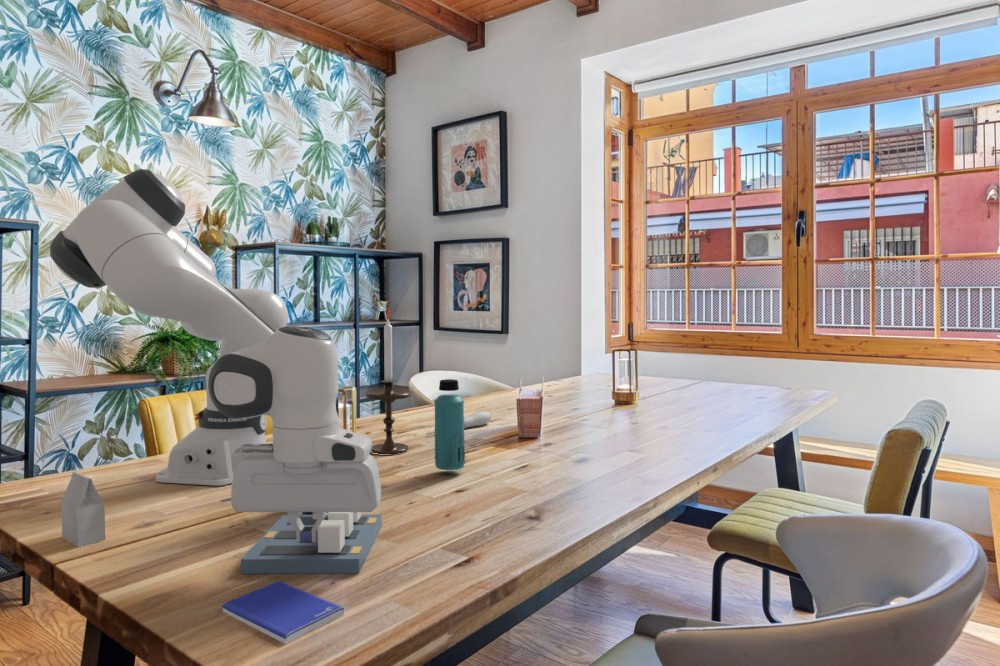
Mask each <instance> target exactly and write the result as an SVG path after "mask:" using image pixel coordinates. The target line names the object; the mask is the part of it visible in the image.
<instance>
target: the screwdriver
mask: <svg viewBox="0 0 1000 666" xmlns="http://www.w3.org/2000/svg"><path fill="white" fill-rule="evenodd" d="M491 418H492V415H491V413H490V412H488V411H485V410H484V411H481V410H479V411H475V412H474V413H472V414H470V415H468V416H466V417H465V416H464V424H465V426H464V430H465V429H467V428H474V427H475V426H477V427H483V426H485V425H486V424H488V423H489V422H490V421H491V420H492V419H491ZM475 428H476V427H475ZM432 434H435V430H431V431H429V432H427V433H426V434H425V435H427V436H428V435H432Z"/></svg>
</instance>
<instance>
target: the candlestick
mask: <svg viewBox="0 0 1000 666" xmlns="http://www.w3.org/2000/svg"><path fill="white" fill-rule="evenodd" d="M390 309H391V307H390V306H388V309H386V311H387V313H386V323H385V325H383V338H384V339H383V341H384V343H383V347H384V348H383V349H384V350H383V352H384V353H383V354H384V358H383V359H384V364H383V365H384V369H383V370H384V380H380V383H384V384H383V387H384V388H376V389H371V390H367V391H365V398H366V399H370V400H380V401H382V402H383V403H385V417H384V418H383V420H382V422H383V424H385V428H384V429H383V432H385V436H386V437H385V440H384V442H383V443H378V444H374V445H372V449H371V451H372V452H373V453H378V454H398V453H403V452H405V453H407V452H408V451H409V446H408V445H407V444H406V443H405V444H404V443H400V442H398V443H397V442H394V440H393V432H395V429H394V428H393V425H394V423H395V421H396V420H395V417H392V414H393V413H392V410H393V409H392V408H393V407H392V405H393V404H392V403H394V402H395V401H397V400H400V399H401V400H402V399H407V398H411V397H412V390H410V389H406V388H394V383H395V382H397V379H396V380H394V379H393V325H391V323H390V316H391V310H390ZM407 450H408V451H407ZM406 451H407V452H406ZM403 454H404V453H403ZM398 455H399V454H398Z"/></svg>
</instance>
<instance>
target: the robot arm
mask: <svg viewBox="0 0 1000 666" xmlns="http://www.w3.org/2000/svg"><path fill="white" fill-rule="evenodd" d="M185 214H186V204H185V202H184V201H183V198H182V195H181V193H180V191H179V189H177V187H176V186H175V185H174V184H173V183H172V182H171V181H170V180H169V179H168V178H166V177H164V176H162V175H160V174H158V173H156V172H153V171H152V170H150V169H145V168H139V169H135V170H134V171H131V172H130V173H128V174H127V175H124V176H123V180H121V181H119V182H118V183H116V184H114V185H112V186H111V187H110V188H108V189H107V190H105V191H104V192H103V193H101V194H99V195H98V196H97V197H95V199H93V200H92V201H91V202H90V204H89V205H87V206H86V207H84V208H82V210H81V211H80V212H79V213H78V215H77V216H76V217H75V218H74V219H73V220H72V221H71V222H70V223H69V224H68V225H67V227H66V228H65V229H64V230H59V232H58V233H57V234H56V236H55V237H54V238H53V239H52V241H51V243H50V244H49V256H50V258H51V260H53V263H55V265H56V267H57V269H58V270H59V271H60V272H61V273H62V274H63V275H64V276H65V277H66V278H68V279H70V280H71V281H73V282H74V283H77V284H80V285H82V286H83V287H86V288H90V289H92V288H94V289H95V288H96V289H97V288H102V287H105V286H106V287H108V289H110V291H111V292H112V293H113V294H114V295H115V296H116V297H117V298H118V299H119V300H120V301H121V302H123V303H125V305H127V306H128V307H130V308H131V309H133V310H135V311H136V312H138V313H140V314H142V315H144V316H148V317H153V318H158V319H159V318H160V319H165V320H174V321H178V322H179V323H180V324H181V325H180V326H182V328H183V329H184V330H185V332H186V333H188V334H190V335H192V336H194V337H197V338H200V339H203V340H206V341H215V342H217V341H218V342H222V343H221V348H220V352H219V355H218V356H217V359H216V361H215V362H214V363H213V364H211V365H210V366H209V367H208V369H207V370H206V373H205V383H206V384H205V385H206V386H205V387H206V390H205V391H206V407H205V408H204V409H202V410H200V411H199V412H197V413H195V414H194V417H195V418H194V420H195V421H198V426H197V427H196V428H195V429H193V430H192V431H191V432H189V433H188V434H187V435H185V436H184V437H183V438H182V439H181V440H179V441H178V442H176V443H175V445H173V447H172V448H171V450H170V451H169V455H168V460H167V461H168V462H167V467H165V468H163V469H161V470H160V471H159V472H157V473H156V475H155V482H157V483H166V484H167V483H168V484H184V485H202V486H214V487H215V486H217V487H218V486H219V487H221V486H226V485H229V484H231V492H230V505H231V507H232V508H233V509H234V511H235V512H237V513H287V515H288V521H289V522H290V524H291V525H292V527H293V528H294V530H295V531H296V542H297V543H316V542H317V541H318V527H319V526H320V524H321V523H322V522H323V520H324V518H325V517H326V515H328V513H329V512H361V513H372V512H374V511H375V510H376V509H377V508H378V506H379V505H380V503H381V501H382V487H381V485H382V484H381V475H380V471H379V465H378V463H377V460H376V459H375V458H374V456H372V455H371V449H372V446H373V440H372V439H371V437H370V436H366V435H363V434H360V433H356V432H354V431H350V430H349V429H346V428H342V427H340V419H339V417H338V414H337V411H336V399H337V397H338V395H339V367H338V366H339V365H338V364H339V363H338V357H337V350H336V346H335V343H334V340H333V339H332V337H331V336H330V334H328V333H326V332H325V331H324V330H321V329H319V328H318V329H317V328H313V327H308V326H297V325H295V326H294V325H292V326H291V325H288V320H289V312H288V308H287V305H286V302H285V301H284V300H283V298H282V297H281V296H279V295H278V294H276V293H273V292H270V291H266V290H262V289H258V288H231V287H228V286H225V285H224V284H222V283H221V282H220V280H218V279H217V277H216V275H217V273H216V272H217V268H216V265H215V263H214V261H213V259H212V258H210V257H209V256H208V255H207V254H206V253H205V252H204V251H203V250H201V249H200V248H199V247H198V246H197V245H196V244H195V243H194V242H192V241H191V239H189V238H188V236H186V235H184V233H182V232H181V231H180V230H179V229H178V228H176V227H177V226H178V225H179V224H180V222H181V220H182V219H183V218H184V217H185ZM267 416H269V417H270V418H271V421H272V443H267V438H266V430H267ZM302 512H313V514H312V515H313V519H317V521H316V523H315V524H314V526H313V527H304V525H303V523H302V521H301V519H300V518H299V517H300V515H303V513H302Z"/></svg>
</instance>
